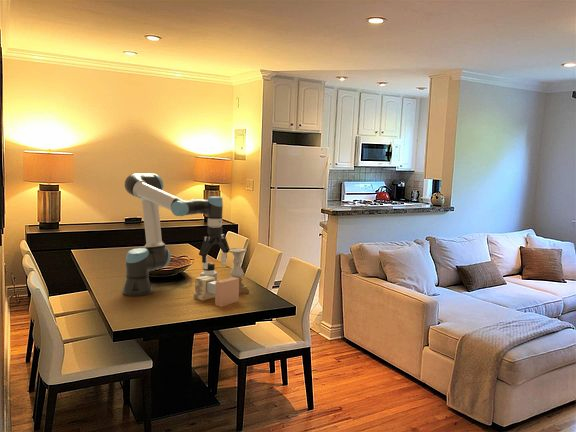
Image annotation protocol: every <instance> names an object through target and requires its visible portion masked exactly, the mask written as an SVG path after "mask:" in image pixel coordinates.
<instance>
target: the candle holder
mask: <svg viewBox="0 0 576 432" xmlns="http://www.w3.org/2000/svg"><path fill="white" fill-rule="evenodd" d="M229 249H230V251H228V253H232V255H233V259H232V262H233V266H232V269H230V273H229V274H230V277H235V278H239V295H243V294H244V295H245V294H249V293H250V289H249V288H248V286H247V285H245V283H243V278H242V277H243V276H244V270H243V268H242V267H241V263H242V262H243V260H242V259H241V257H242V255H243V254H244V253H246V252H247V248H241V247H237V248H236V247H234V248H229Z"/></svg>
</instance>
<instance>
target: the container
mask: <svg viewBox="0 0 576 432" xmlns="http://www.w3.org/2000/svg"><path fill="white" fill-rule="evenodd" d="M215 266H216V264H214V263H213V262H208V269H203V268H202V270H203V271H202V272H201V273H199V275H200V276H199V277H202V276H210V277H214V278H215V281H218V271H216V270H215Z"/></svg>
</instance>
